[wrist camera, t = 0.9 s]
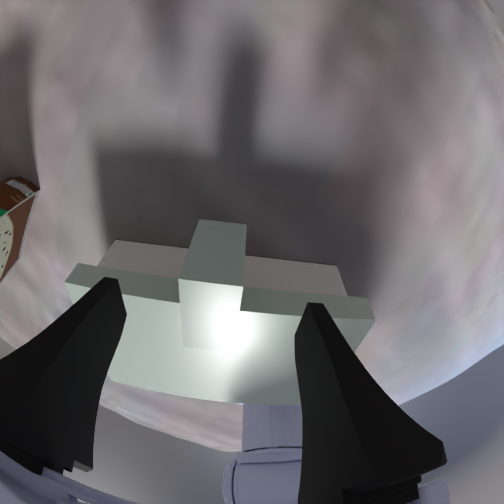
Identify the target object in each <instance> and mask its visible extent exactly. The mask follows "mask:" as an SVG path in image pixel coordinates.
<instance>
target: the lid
mask: <svg viewBox="0 0 504 504" xmlns="http://www.w3.org/2000/svg"><path fill="white" fill-rule="evenodd" d="M246 233H247V224H238V223H230V222H221V221H213V220H204V219H199V222H198V224H197V227H196V230H195V232H194V235H193V238H192V241H191V244H190V246H189V249H188V252H187V255H186V258H185V261H184V264H183V266H182V269H181V272H180V275H179V278H171V277H163V276H156V275H149V274H143V273H136V272H129V271H123V270H116V269H110V268H104V267H98V266H92V265H86V264H81V263H78V264H77V265H76V267H75V268H74V269H73V271H72V272H71V274H70V275H69V277H68V278H67V279H66V281H65V285H66V288H67V290H68V293H69V295H70V298H71V300H72V303H73V304H75V303H76V302H77V301H78V300H79V299H80V298H81V297H82V296H83V295H84V294H86V293H87V292H88V291H89V290H90V289H91V288H92V287H93V286H94V285H96V284H97V283H98V282H99V281H100V280H101V279H103V278H104V277H109V278H115V279H118V281H119V285H120V289H121V293H122V297H123V301H124V305H125V309H126V312H127V317H126V321H125V325H124V329H123V332H122V336H121V339H120V341H119V344H118V346H117V349H116V351H115V354H114V357H113V359H112V362H111V364H110V367H109V370H108V372H107V374H108V375H109V377H110V379H111V381H114V382H118V383H122V384H126V385H130V386H134V387H138V388H142V389H147V390H152V391H156V392H161V393H167V394H172V395H178V396H184V397H191V398H198V399H205V400H213V401H222V402H233V403H246V404H264V405H301V401H300V393H299V386H298V379H297V372H296V364H295V346H294V335H295V333H296V330H297V328H298V325H299V323H300V320H301V318H302V315H303V313H304V310H305V308H306V305H307V302H313V303H323V304H324V306H325V307H326V309H327V310H328V312H329V314H330V315H331V317H332V319H333V320H334V322H335V324H336V325H337V327H338V328H339V330H340V332H341V333H342V335H343V336H344V338H345V340H346V341H347V343H348V344H349V346H350V347H351V349H352V350H353V352H355V350H356V349H357V348H358V346H359V345H360V343H361V342H362V340H363V339H364V337H365V336H366V334H367V333H368V331H369V329H370V328H371V326H372V325H373V323H374V322H375V320H376V319H375V316H374V314H373V311H372V309H371V306H370V304H369V301H368V298H367V297H353V296H339V295H326V294H314V293H303V292H292V291H282V290H271V289H262V288H252V287H243V285H244V267H245V250H246Z"/></svg>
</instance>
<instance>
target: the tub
mask: <svg viewBox="0 0 504 504" xmlns="http://www.w3.org/2000/svg"><path fill="white" fill-rule="evenodd" d="M187 252H188V248H179V247H171V246H163V245H154V244H146V243H138V242H130V241H121V240H115V241H114V242H113V244H112V245H111V247H110V248H109V249H108V251H107V252H106V254H105V255H104V257H103V258H102V260H101V261H100V263H99V264H98V265H97V266H98V267H104V268H110V269H116V270H123V271H129V272H136V273H143V274H149V275H156V276H163V277H171V278H179V275H180V272H181V269H182V266H183V264H184V261H185V258H186V255H187ZM243 287H252V288H262V289H271V290H282V291H292V292H303V293H314V294H326V295H339V296H347V293H346V290H345V287H344V284H343V282H342V279H341V276H340V273H339V270H338V268H337V266H334V265H325V264H316V263H308V262H299V261H290V260H281V259H273V258H264V257H256V256H247V255H245V267H244V285H243Z"/></svg>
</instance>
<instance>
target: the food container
mask: <svg viewBox="0 0 504 504" xmlns="http://www.w3.org/2000/svg"><path fill="white" fill-rule="evenodd" d="M39 192H40V189H39V188H38V187H37V186H36V185H35V184H33V183H32V182H31V181H28V180H26V179H24V178H21V177H9V178H7V179H5V180H3V181H2V182H0V283H1V282H2V281H3V279H4V278H5V276H6V275H7V274H8V273H9V271H10V270H11V269H12V267H13V266H14V265H15V264H16V262H17V261H18V260H19V259H20V257H21V253H22V248H23V244H24V240H25V236H26V233H27V229H28V225H29V222H30V219H31V215H32V212H33V209H34V206H35V203H36V200H37V197H38V194H39Z"/></svg>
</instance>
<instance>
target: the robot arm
mask: <svg viewBox="0 0 504 504" xmlns="http://www.w3.org/2000/svg"><path fill="white" fill-rule="evenodd" d="M126 317H127V312H126V309H125V305H124V301H123V297H122V293H121V289H120V285H119V281H118V279H115V278H109V277H104V278H103V279H101V280H100V281H99V282H98V283H97V284H96V285H94V286H93V287H92V288H91V289H90V290H89V291H88V292H87V293H86V294H84V295H83V296H82V297H81V298H80V299H79V300H78V301H77V302H76V303H75V304H73V305H72V306H71V307H70V308H69V309H68V310H67V311H66V312H65V313H63V314H62V315H61V316H60V317H59V318H58V319H56V320H55V321H54V322H53V323H52V324H51V325H49V326H48V327H47V328H46V329H45V330H43V331H42V332H41V333H40V334H38V335H37V336H36V337H34V338H33V339H31V340H30V341H29V342H27V343H26V344H24V345H23V346H21V347H20V348H18V349H17V350H15V351H14V352H12V353H11V354H9V355H7V356H6V357H4V358H2V359H0V504H87V503H90V504H139V503H136V502H132V501H128V500H125V499H122V498H119V497H115V496H113V495H110V494H107V493H104V492H101V491H99V490H96V489H93V488H91V487H88V486H86V485H83V484H81V483H79V482H77V481H74V480H72V479H70V478H68V477H66V476H64V475H63V470H64V469H65V470H67V471H69V472H72V469H73V467H75V468H78V469H80V470H83V471H85V472H88V471H91V470H92V469H93V443H94V431H95V423H96V416H97V410H98V405H99V400H100V395H101V391H102V387H103V384H104V381H105V378H106V375H107V372H108V370H109V367H110V364H111V362H112V359H113V357H114V354H115V351H116V349H117V346H118V344H119V341H120V339H121V336H122V332H123V329H124V325H125V321H126ZM294 346H295V364H296V372H297V379H298V386H299V393H300V401H301V405H264V404H246V403H238V404H243V430H242V452H238V453H237V459H232V460H231V461H230V463H228V465H227V466H226V467H225V470H224V474H223V481H222V491H223V497H224V501H225V503H226V504H450V500H449V492H448V486H447V480H446V477H442V478H439V479H437V480H434V481H432V482H430V483H427V484H424V485H421V486H418V485H417V483H420V482H421V475H422V474H424V473H427V472H429V471H431V470H434V469H436V468H438V467H440V466H443V465H445V464H446V463H447V458H446V454H445V450H444V445H443V442H442V441H441V440H439V439H438V438H437V437H435V436H434V435H432V434H430V433H429V432H428V431H426V430H425V429H424V428H422V427H421V426H420V425H419V424H418V423H416V422H415V421H414V420H413V419H412V418H410V417H409V416H408V415H407V414H406V413H405V412H404V411H403V410H402V409H401V408H400V407H398V405H397V404H396V403H395V402H394V401H393V400H392V399H391V398H390V397H389V396H388V395H387V394H386V393H385V392H384V391H383V390H382V388H381V387H380V386H379V385H378V384H377V383H376V381H375V380H374V379H373V378H372V376H371V375H370V374H369V373H368V371H367V370H366V369H365V367H364V366H363V364H362V363H361V362H360V360H359V359H358V357H357V356H356V355H355V353H354V352H353V350H352V349H351V347H350V346H349V344H348V343H347V341H346V340H345V338H344V336H343V335H342V333H341V332H340V330H339V328H338V327H337V325H336V324H335V322H334V320H333V319H332V317H331V315H330V314H329V312H328V310H327V309H326V307H325V306H324V304H323V303H313V302H307V305H306V308H305V310H304V313H303V315H302V318H301V320H300V323H299V325H298V328H297V330H296V333H295V335H294ZM77 498H78V499H80V500H83V501H85V502H87V503H83V502H79V501H78V500H77Z"/></svg>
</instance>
